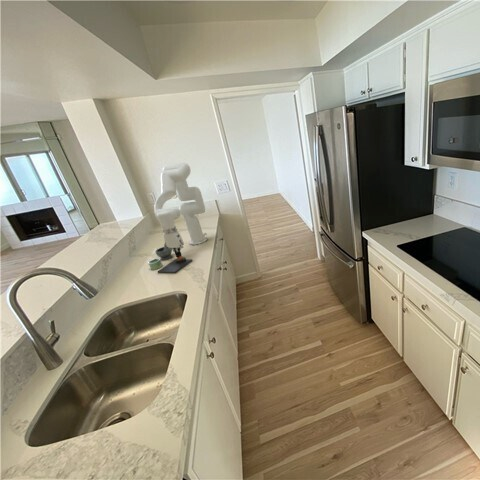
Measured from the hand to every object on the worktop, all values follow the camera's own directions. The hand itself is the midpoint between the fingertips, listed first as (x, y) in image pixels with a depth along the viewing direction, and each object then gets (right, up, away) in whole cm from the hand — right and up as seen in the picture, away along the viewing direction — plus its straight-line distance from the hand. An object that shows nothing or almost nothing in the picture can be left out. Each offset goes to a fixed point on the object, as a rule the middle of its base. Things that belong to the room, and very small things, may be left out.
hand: (179, 256), depth 173 cm
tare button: (0, -2, +1) cm, 2 cm away
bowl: (-14, -7, 0) cm, 16 cm away
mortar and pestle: (-15, -2, +13) cm, 20 cm away
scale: (-1, -7, -3) cm, 7 cm away
